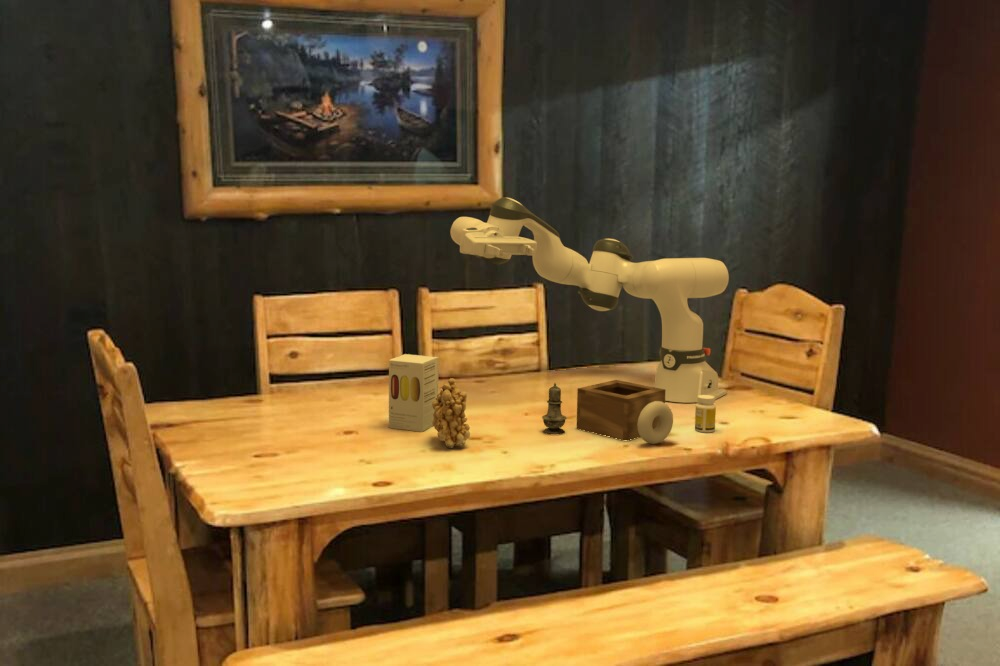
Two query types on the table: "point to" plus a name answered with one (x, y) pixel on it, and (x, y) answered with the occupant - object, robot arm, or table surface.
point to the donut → (647, 419)
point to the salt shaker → (554, 412)
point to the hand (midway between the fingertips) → (516, 252)
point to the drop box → (615, 408)
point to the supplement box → (412, 391)
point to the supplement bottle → (705, 414)
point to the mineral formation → (451, 415)
